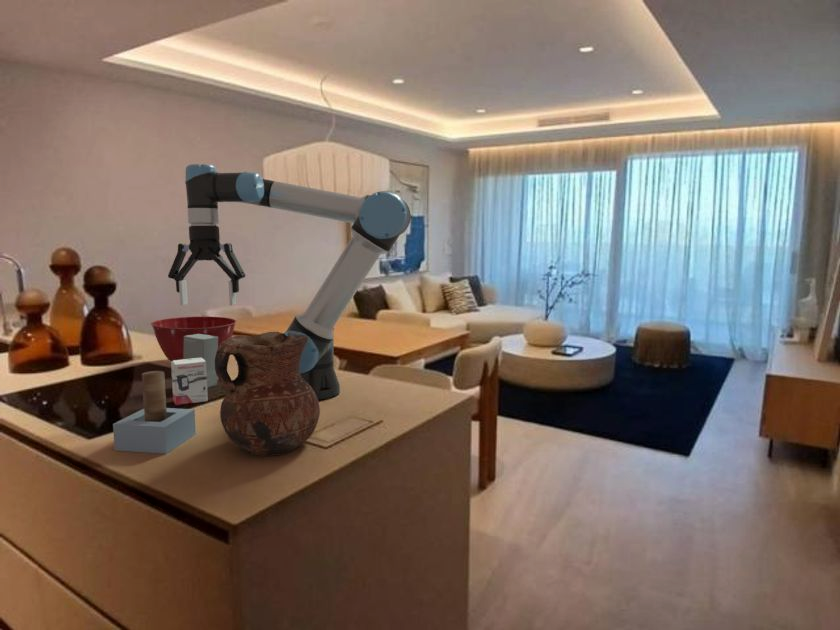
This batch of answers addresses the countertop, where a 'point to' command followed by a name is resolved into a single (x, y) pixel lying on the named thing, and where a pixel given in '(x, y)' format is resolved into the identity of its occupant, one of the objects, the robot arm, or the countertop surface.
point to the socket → (154, 431)
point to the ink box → (189, 381)
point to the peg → (154, 396)
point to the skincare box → (203, 353)
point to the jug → (266, 393)
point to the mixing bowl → (189, 332)
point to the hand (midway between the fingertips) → (208, 304)
